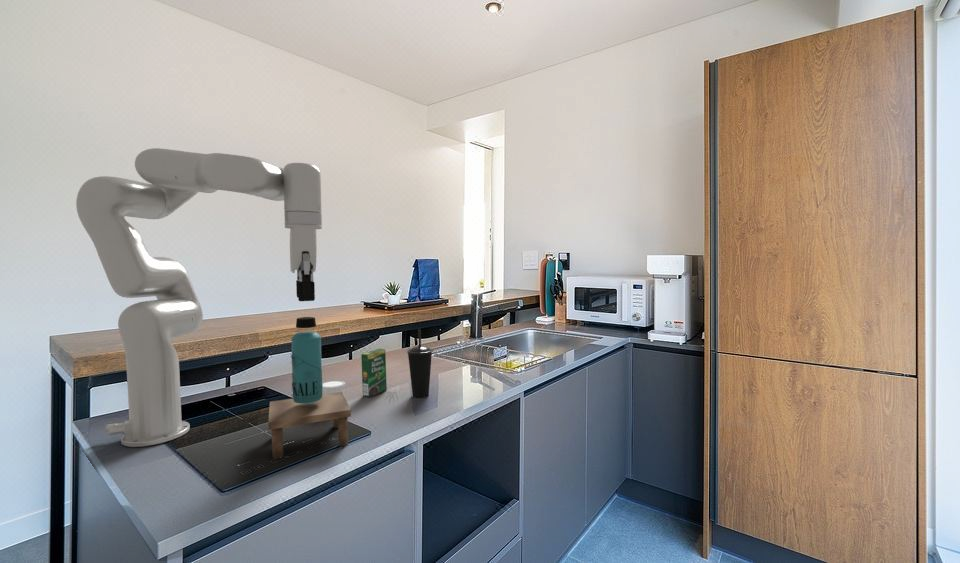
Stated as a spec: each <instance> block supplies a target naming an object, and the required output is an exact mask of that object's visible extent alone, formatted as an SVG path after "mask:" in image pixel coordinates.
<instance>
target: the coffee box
mask: <svg viewBox="0 0 960 563" xmlns="http://www.w3.org/2000/svg"><path fill="white" fill-rule="evenodd" d="M386 355H387V354H386V349H384V348H376V349H374V350H370V351H367V352H365V353H362V354H361V379H362V384H361V385H362V397H364V398H371V397H374V396H375V395H378V394H381V393H383V392H386V391H387V390H388V387H387V386H388V385H387V360H386V359H387V358H386V357H387V356H386Z"/></svg>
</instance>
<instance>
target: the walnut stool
mask: <svg viewBox="0 0 960 563" xmlns="http://www.w3.org/2000/svg"><path fill="white" fill-rule="evenodd" d="M351 416H352V410H351V408H350V406H349V404H348V402H347V400H346V396H345V397H344V395H343V393H342V392H336V393H329V394H323V395H322V398H321V399H320V400H318V401H315V402H311V403H295V402H294V400H293V398H287V399H281V400H280V399H279V400H272V401H269V409H268V422H267V423H268V431H270V430H271V447H272V448H271V451H272V452H271V453H272V456H271V457H272V460H278V459H277V458H280V457H282V456H283V457H284V441H283V440H284V428H288V427H296V426H301V425H306V424H307V425H308V424H313V423H314V424H315V423H319V422H325V421H331V420H332V428H333V427H338V428H337V429H338V430H337V433H338V434H337V435H338V437H337V438H338V446H339V445H340V446H339V447H345V446H347V445H348V444H349V426H348V424H349V423H348V422H349V420H348V418H349V417H351ZM283 457H282V458H283ZM280 459H281V458H280Z"/></svg>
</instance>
